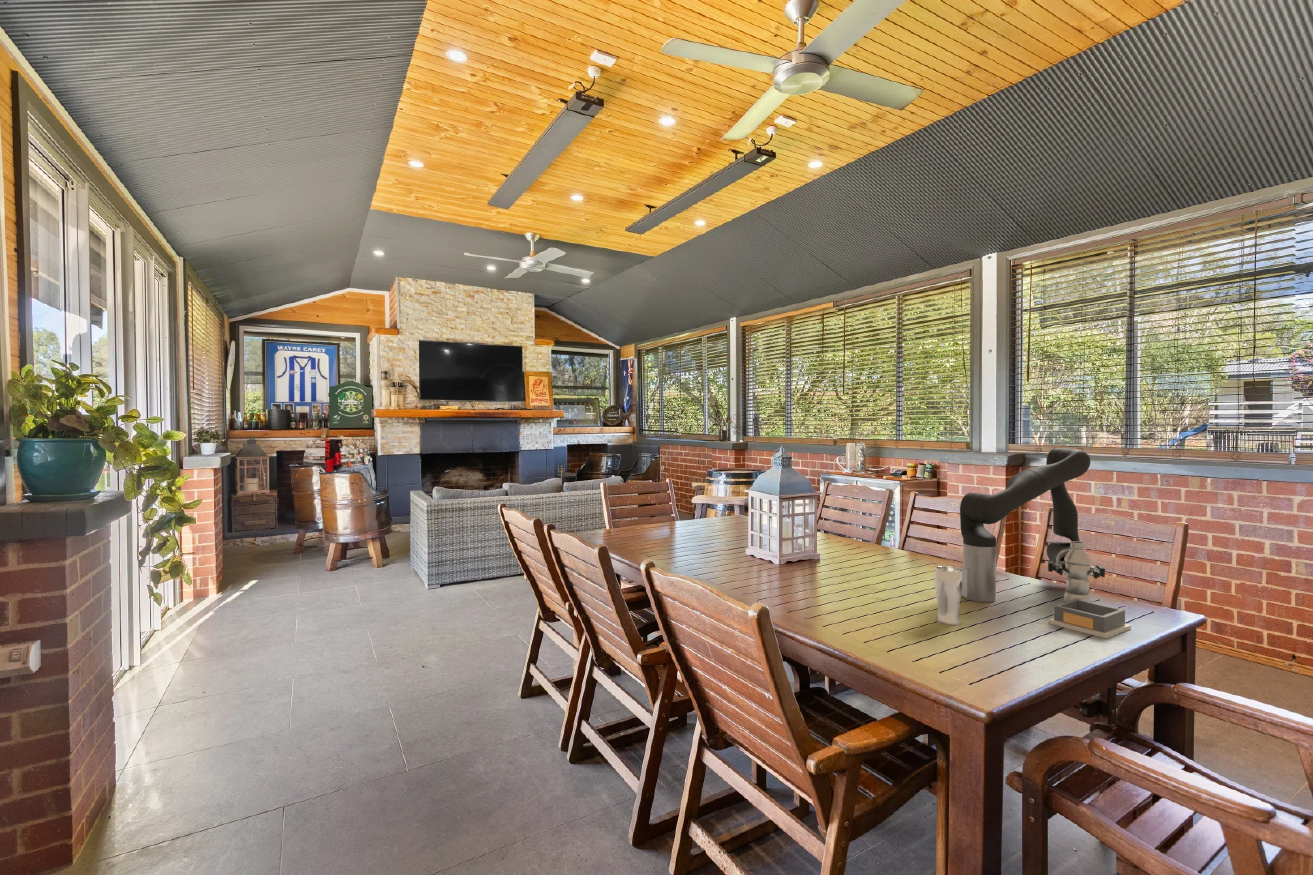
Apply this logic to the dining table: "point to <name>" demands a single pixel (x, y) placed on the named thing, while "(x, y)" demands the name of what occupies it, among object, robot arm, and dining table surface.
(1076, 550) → the plastic bottle
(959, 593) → the beer glass
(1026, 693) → the dining table surface
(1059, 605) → the labelled socket
